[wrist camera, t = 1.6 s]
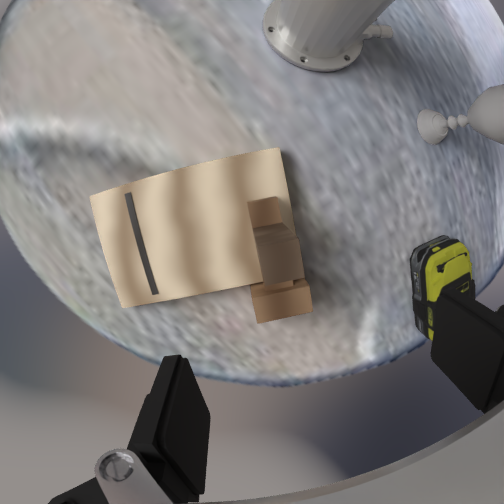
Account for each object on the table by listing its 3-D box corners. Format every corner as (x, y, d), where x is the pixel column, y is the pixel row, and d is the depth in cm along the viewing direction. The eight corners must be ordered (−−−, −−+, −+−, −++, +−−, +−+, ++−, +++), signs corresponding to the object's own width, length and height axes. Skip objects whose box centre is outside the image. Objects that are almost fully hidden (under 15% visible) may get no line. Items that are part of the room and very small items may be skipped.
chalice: (437, 162, 31) (541, 165, 14) (403, 130, 30) (509, 111, 13) (453, 124, 30) (549, 112, 12) (422, 92, 29) (517, 60, 11)
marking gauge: (286, 192, 31) (312, 200, 20) (303, 294, 34) (331, 346, 23) (232, 203, 31) (229, 217, 20) (255, 304, 34) (262, 362, 23)
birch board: (276, 149, 30) (279, 147, 28) (298, 267, 34) (302, 273, 32) (97, 195, 31) (89, 196, 29) (127, 301, 34) (122, 308, 32)
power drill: (449, 218, 33) (594, 268, 9) (455, 315, 37) (554, 397, 13) (402, 238, 34) (559, 317, 9) (412, 339, 38) (507, 445, 14)
